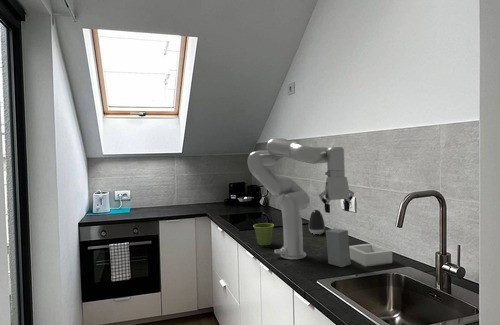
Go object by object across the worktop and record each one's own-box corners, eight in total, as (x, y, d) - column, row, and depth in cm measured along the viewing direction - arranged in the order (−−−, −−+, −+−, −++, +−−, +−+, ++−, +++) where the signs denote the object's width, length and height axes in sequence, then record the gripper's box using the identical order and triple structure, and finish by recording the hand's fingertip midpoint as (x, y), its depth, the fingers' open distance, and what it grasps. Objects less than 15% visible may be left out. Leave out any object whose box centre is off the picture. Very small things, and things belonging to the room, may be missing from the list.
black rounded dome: (324, 231, 226) (323, 208, 225) (326, 235, 215) (325, 210, 215) (308, 232, 227) (307, 208, 226) (309, 235, 216) (308, 211, 216)
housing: (365, 266, 155) (365, 254, 155) (347, 257, 170) (346, 246, 169) (392, 263, 159) (392, 251, 159) (372, 254, 173) (372, 243, 173)
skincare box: (351, 265, 158) (350, 230, 158) (340, 268, 154) (339, 232, 154) (337, 260, 165) (336, 227, 165) (326, 263, 162) (325, 229, 161)
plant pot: (260, 241, 206) (259, 222, 206) (278, 243, 200) (277, 224, 200) (249, 246, 196) (249, 226, 196) (268, 248, 190) (267, 228, 190)
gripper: (322, 175, 153) (323, 214, 153) (357, 173, 158) (358, 211, 158) (315, 174, 160) (316, 212, 161) (348, 172, 165) (349, 209, 165)
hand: (337, 211), depth 159 cm, fingers open, 9 cm apart
